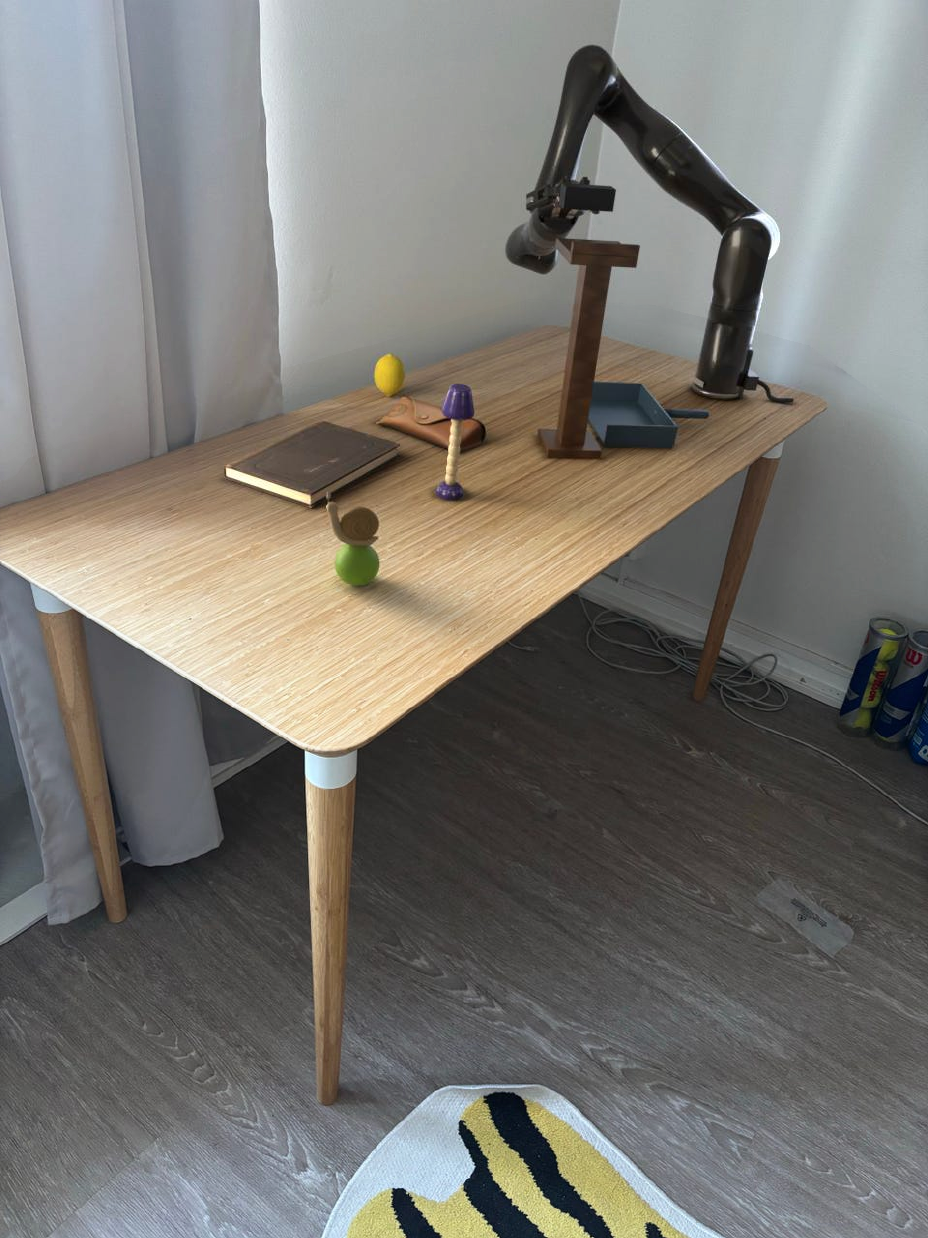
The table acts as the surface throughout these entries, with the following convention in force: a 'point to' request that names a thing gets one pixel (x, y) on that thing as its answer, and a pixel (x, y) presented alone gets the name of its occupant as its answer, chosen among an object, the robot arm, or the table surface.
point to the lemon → (389, 374)
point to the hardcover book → (313, 463)
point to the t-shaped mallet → (586, 197)
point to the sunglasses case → (431, 424)
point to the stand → (584, 343)
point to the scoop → (634, 416)
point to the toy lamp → (455, 437)
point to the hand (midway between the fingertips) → (577, 182)
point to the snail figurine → (355, 543)
